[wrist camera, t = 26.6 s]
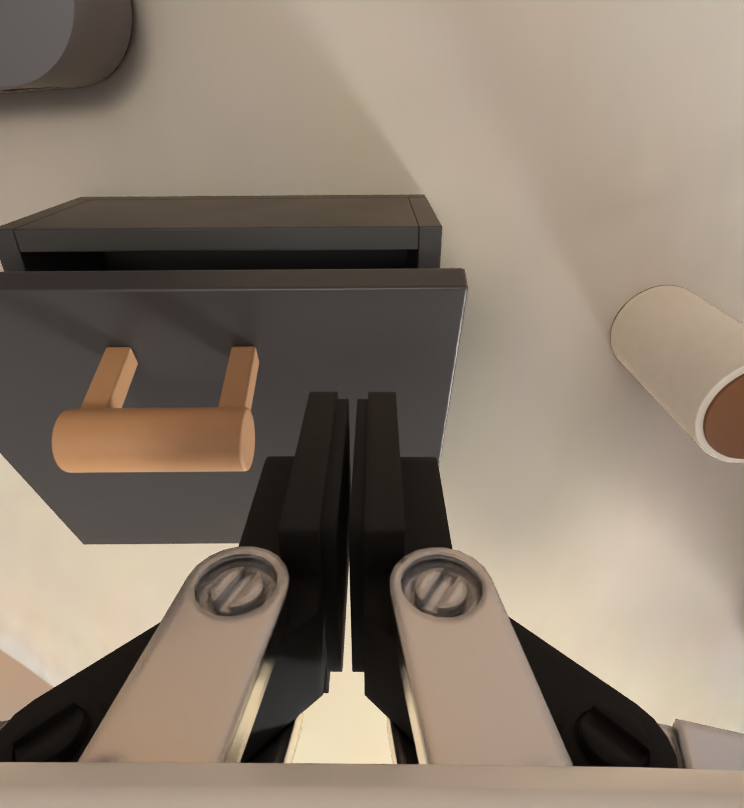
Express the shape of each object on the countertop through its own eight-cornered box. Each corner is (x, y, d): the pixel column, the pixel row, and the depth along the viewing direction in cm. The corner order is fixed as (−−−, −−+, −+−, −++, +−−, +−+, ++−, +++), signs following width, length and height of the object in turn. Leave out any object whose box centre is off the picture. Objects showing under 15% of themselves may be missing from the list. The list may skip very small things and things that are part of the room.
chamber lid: (-130, 271, 14) (-258, 408, 11) (464, 266, 14) (490, 403, 11) (89, 527, 26) (52, 631, 23) (425, 525, 26) (433, 628, 23)
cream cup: (678, 265, 27) (800, 334, 19) (717, 333, 28) (844, 420, 21) (593, 324, 28) (676, 409, 20) (636, 385, 30) (726, 484, 22)
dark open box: (79, 196, 25) (-11, 229, 19) (425, 194, 25) (442, 225, 19) (143, 447, 32) (90, 529, 26) (415, 445, 32) (425, 526, 26)
